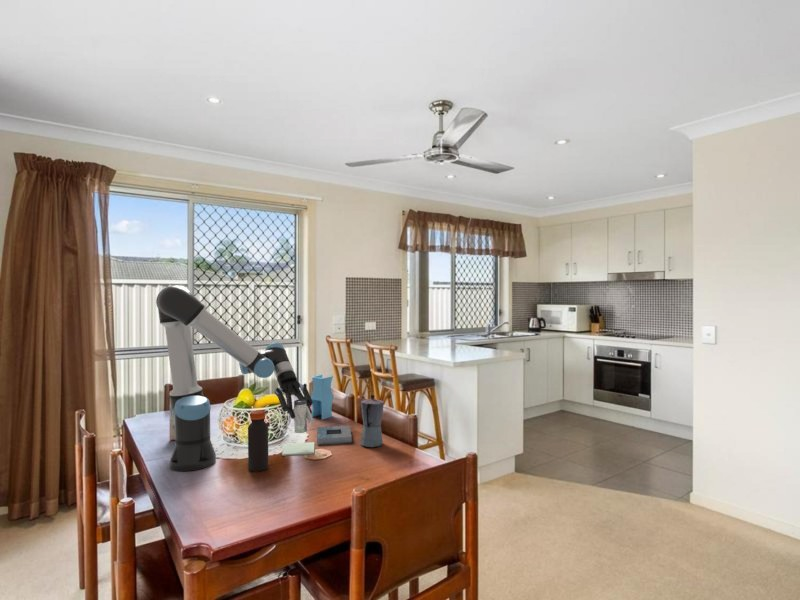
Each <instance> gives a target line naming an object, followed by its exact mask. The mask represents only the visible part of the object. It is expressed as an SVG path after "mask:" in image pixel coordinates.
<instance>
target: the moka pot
mask: <svg viewBox="0 0 800 600" xmlns="http://www.w3.org/2000/svg"><path fill="white" fill-rule="evenodd" d="M384 404H385V402H384V401H383V400H381V399H377V398H375V394H370V398H368V399H364V400H361V401H360V407H361V416H362V421H363V423H362V425H363V427H362V432H361V439H360V445H361V446H362V447H367V448H377V447H381V446H383V443H384V442H383V434H382V426H381V425H382V420H383V412H384V406H385V405H384Z"/></svg>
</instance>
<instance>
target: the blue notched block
mask: <svg viewBox="0 0 800 600" xmlns="http://www.w3.org/2000/svg"><path fill="white" fill-rule="evenodd" d="M311 378H312V379H311V380H312V385H313V386H312V387H313V388H312V393H311V394H310V397H311V399H312V401H313V403H312V405H311V407H312V408H311V411H312V414H311V415H312V418H316V417H318V416H321V420H325V419H328V418H332V417H333V412H332V405H333V401H334V395H333V391H332V381H333V378H334V376H333V375H331V376H325V377H323V374H318V375H313V376H311Z"/></svg>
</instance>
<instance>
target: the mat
mask: <svg viewBox="0 0 800 600" xmlns="http://www.w3.org/2000/svg"><path fill="white" fill-rule="evenodd" d="M315 443H316V442H315V441H312V442H311V441H310V442H309V441H308V442H292V443H284V444H283V448H282V453H281V457H282V456H284V457H285V456H299V455H301V456H302V455H314V454H315V447H316V446H315Z"/></svg>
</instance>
